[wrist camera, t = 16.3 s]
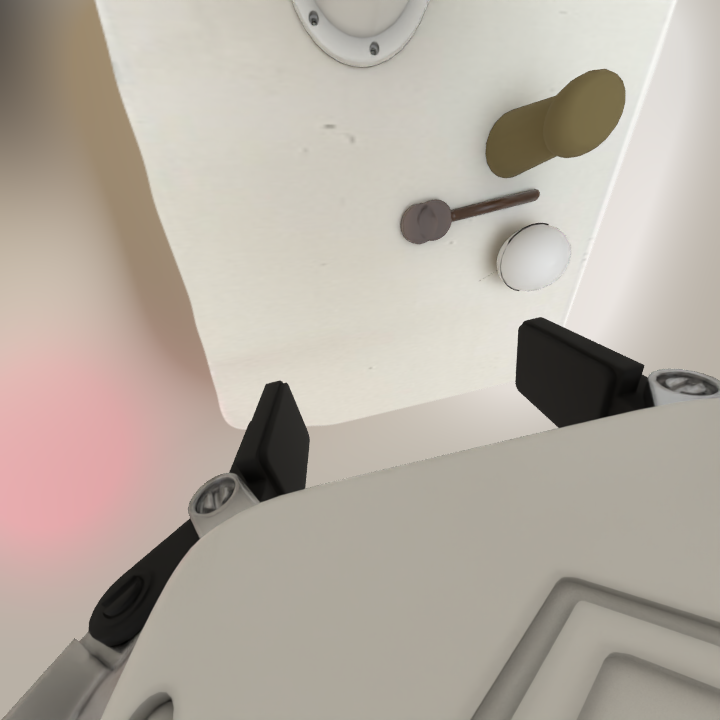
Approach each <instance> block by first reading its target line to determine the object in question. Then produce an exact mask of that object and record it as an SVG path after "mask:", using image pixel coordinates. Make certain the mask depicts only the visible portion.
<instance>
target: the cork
mask: <svg viewBox="0 0 720 720" xmlns="http://www.w3.org/2000/svg"><path fill="white" fill-rule="evenodd" d="M624 105H625V87H624V84H623V81H622V80H621V78H620V77H619V76H618V75H617V74H616V73H614V72H612V71H609V70H607V69H600V70H592V71H588V72H586V73H584V74H582V75H581V76H579V77H577V78H575V79H574V80H572V81H571V82H570V83H569V84H568V85H566V86H565V87H564V88H563V89H562V90H561V91H560V92H559V93H558V94H557V96H554V97H551V98H547V99H544V100H541V101H538V102H535V103H532V104H529V105H526V106H523V107H520V108H517V109H513V110H511V111H509V112H507V113H505V114H504V115H503V116H502V117H501V118H500V119H499V120H498V121H497V122H496V123H495V125H494V126H493V128H492V130H491V131H490V134H489V137H488V140H487V143H486V159H487V164H488V165H489V167H490V169H491V171H492V172H493V173H494V174H496V175H497V176H499V177H502V178H511V177H514V176H517V175H519V174H521V173H523V172H525V171H527V170H529V169H531V168H533V167H535V166H537V165H539V164H541V163H543V162H545V161H547V160H550V159H552V158H554V157H556V156H559V157H563V158H571V157H577V156H581V155H583V154H585V153H587V152H589V151H591V150H593V149H595V148H596V147H598V146H599V145H600V144H601V143H602V142H603V141H604V140H606V138H607V137H608V136H609V135H610V133H611V132H612V131H613V129H614V128H615V127H616V125H617V123H618V121H619V119H620V117H621V115H622V112H623V109H624Z"/></svg>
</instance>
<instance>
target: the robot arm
mask: <svg viewBox="0 0 720 720" xmlns="http://www.w3.org/2000/svg"><path fill="white" fill-rule="evenodd" d="M292 2H293V4H294V7H295V10H296V12H297V14H298V16H299V18H300V20H301V22H302V24H303V26H304V27H305V29H306V31H307V32H308V33H309V35H310V36H311V37H312V39H313V40H314V41H315V43H316V44H317V45H318V46H319V47H320V48H321V49H322V50H323V51H325V52H326V53H327V54H328V55H329V56H331V57H333V58H334V59H336V60H337V61H339V62H341V63H344V64H347V65H350V66H356V67H368V66H374V65H378V64H380V63H382V62H384V61H387V60H389V59H390V58H392V57H393V56H394V55H395V54H397V53H398V52H399V51H400V50H401V49H402V48H403V47H404V46H405V45H406V44H407V42H408V41H409V40H410V39H411V37H412V36H413V34H414V32H415V31H416V29H417V27H418V25H419V24H420V22H421V19H422V17H423V15H424V12H425V10H426V8H427V5H428V2H429V0H292ZM313 21H315V22H316V23H317V25H315V26H314V25H312V24H311V23H312V22H313ZM372 50H374V51H375V53H376V55H372V54H371V51H372ZM643 368H644V365H643V364H641V363H638V362H636V361H634V360H632V359H630V358H628V357H626V356H623V355H621V354H619V353H617V352H615V351H613V350H611V349H609V348H606V347H604V346H602V345H600V344H597V343H596V342H594V341H591V340H589V339H587V338H585V337H583V336H581V335H579V334H576V333H574V332H572V331H570V330H568V329H566V328H564V327H561V326H559V325H557V324H555V323H553V322H551V321H549V320H546V319H544V318H542V317H539V318H535V319H531V320H527V321H524V322H523V324H522V325H521V326H520V327H519V330H518V346H517V365H516V387H517V389H518V391H519V392H520V393H521V394H523V395H524V396H525V397H526V398H527V399H528V400H529V401H530V402H531V403H532V404H533V405H534V406H536V407H537V408H538V409H539V410H540V411H541V412H542V413H543V414H544V415H545V416H546V417H548V418H549V419H550V420H551V421H552V422H553V423H554V424H555V425H556V426H557V427H558V428H557V429H553V430H548V431H544V432H540V433H536V434H532V435H527V436H523V437H519V438H515V439H510V440H506V441H502V442H497V443H493V444H489V445H485V446H480V447H476V448H472V449H468V450H463V451H459V452H455V453H451V454H447V455H442V456H438V457H434V458H430V459H425V460H421V461H417V462H413V463H409V464H404V465H400V466H396V467H392V468H388V469H383V470H380V471H375V472H371V473H367V474H363V475H359V476H355V477H351V478H347V479H342V480H338V481H334V482H330V483H325V484H321V485H317V486H314V487H310V488H306V489H305V484H306V473H307V463H308V452H309V442H310V439H309V434H308V431H307V428H306V426H305V424H304V421H303V419H302V416H301V414H300V412H299V409H298V407H297V404H296V402H295V400H294V397H293V395H292V392H291V390H290V388H289V385H288V384H287V383H283V382H282V381H277V382H272V383H268V384H266V385H265V388H264V390H263V393H262V395H261V398H260V401H259V403H258V406H257V408H256V411H255V413H254V416H253V418H252V421H250V423H249V425H248V427H247V430H246V432H245V435H244V437H243V440H242V442H241V445H240V447H239V450H238V452H237V455H236V457H235V460H234V462H233V465H232V467H231V470H230V472H229V473H225V474H221V475H218V476H216V477H214V478H212V479H211V480H209V481H207V482H206V483H205V484H204V485H203V486H201V487H200V488H199V489H198V491H197V492H196V493H195V494H194V496H193V497H192V499H191V501H190V503H189V507H188V513H189V516H190V519H189V520H188V521H187V522H185V523H184V524H183V525H182V526H181V527H179V528H178V529H177V530H176V531H175V532H173V533H172V534H171V535H170V536H169V537H168V538H166V539H165V540H164V541H163V542H161V543H160V544H159V545H158V546H157V547H156V548H154V549H153V550H152V551H151V552H150V553H149V554H147V555H146V556H145V557H144V558H143V559H142V560H140V561H139V562H138V563H137V564H135V565H134V566H133V567H132V568H131V569H130V570H128V571H127V572H126V573H125V574H124V575H122V576H121V577H120V578H119V579H118V580H117V581H116V582H115V583H114V584H113V585H112V586H111V587H110V588H109V589H108V590H107V591H106V593H105V594H104V595H103V597H102V598H101V599H100V601H99V602H98V604H97V606H96V607H95V609H94V611H93V613H92V616H91V618H90V621H89V631H88V633H87V634H86V635H85V636H84V637H83V638H82V639H81V640H80V641H78V640H77V639H74V640H73V641H72V642H71V643H70V644H69V645H68V646H67V647H66V648H65V650H64V651H63V652H62V653H61V654H60V655H59V656H58V657H57V659H56V660H55V661H54V662H53V663H52V664H51V665H50V666H49V667H48V669H47V670H46V671H45V672H44V673H43V674H42V675H41V676H40V677H39V679H38V680H37V681H36V682H35V683H34V684H33V685H32V686H31V687H30V689H29V690H28V691H27V692H26V693H25V694H24V695H23V697H21V699H20V700H19V701H18V702H17V703H16V704H15V705H14V706H13V707H12V709H11V710H10V711H9V712H8V713H7V714H6V715H5V716H4V717H3V719H2V720H720V381H719V380H718V379H716V378H714V377H711V376H708V375H706V374H702V373H699V372H695V371H688V370H682V369H662V370H657V371H654V372H652V373H651V374H650V375H649V377H648V378H647V377H646V376H644V375H642V372H643Z"/></svg>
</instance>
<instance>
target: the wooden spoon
mask: <svg viewBox="0 0 720 720" xmlns="http://www.w3.org/2000/svg"><path fill="white" fill-rule="evenodd" d="M539 195H540V192H539V190H537V189H534V190H530V191H526V192H522V193H518V194H514V195H510V196H506V197H502V198H498V199H494V200H490V201H486V202H482V203H478V204H474V205H470V206H466V207H462V208H459V209H455V210H450V208H449V206H448V205H447V204H446V203H445V202H443V201H441V200H431V201H427V202H425V203H420V204H415V205H413V206H411V207H409V208H408V209H407V210H406V211H405V213H404V215H403V217H402V220H401V231H402V234H403V236H404V237H405V238H406V239H407V240H408V241H409V242H412V243H415V244H422V243H425V242H427V241H429V240H430V241H434V240H438V239H440V238H441V237H443V236H444V235H445V234H446V233H447V231H448V230H449V228H450V225H451V222H452V221H457V220H461V219H465V218H469V217H473V216H477V215H481V214H485V213H489V212H492V211H496V210H500V209H504V208H508V207H512V206H516V205H520V204H524V203H528V202H532V201H535V200H537V199H538V197H539Z"/></svg>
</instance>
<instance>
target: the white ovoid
mask: <svg viewBox="0 0 720 720" xmlns="http://www.w3.org/2000/svg"><path fill="white" fill-rule="evenodd" d="M570 257H571V245H570V243H569V241H568V239H567V237H566V235H565V234H564V233H563V232H562V231H561V230H559V229H558V228H556V227H552V226H549V225H548V224H546V223H536V224H531V225H529V226H526V227H524V228H522V229H520V230H518V231H516V232H515V233H514V234H513V235H511V236H510V237H509V238H508V239H507V240H506V241H505V243H504V244H503V246H502V247H501V249H500V251H499V254H498V257H497V269H498V274H499V276H500V278H501V279H502V281H503V282H504V283H505V284H506V285H507V286H508V287H510V288H511V289H513V290H517V291H519V290H521V291H535V290H539V289H541V288H544V287H546V286H548V285H551V284H552V283H553V282H555V281H556V280H557V279H559V277H560V276H561V275H562V274H563V273H564V271H565V270H566V268H567V266H568V264H569V261H570ZM496 271H497V270H496ZM493 273H494V272H493ZM491 274H492V273H491ZM491 274H490V275H491ZM488 276H489V275H488ZM485 278H486V277H485ZM483 279H484V278H483ZM480 281H481V280H480Z"/></svg>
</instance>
